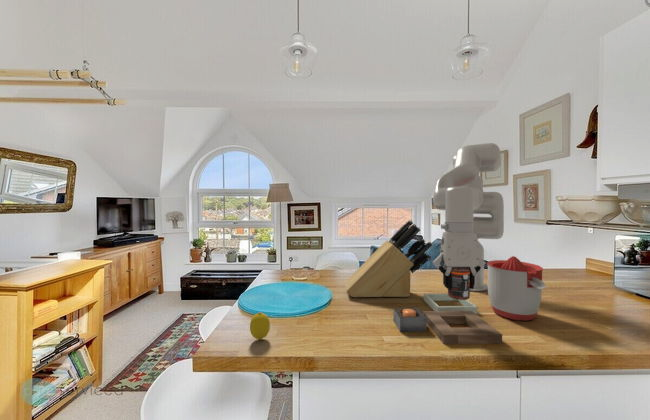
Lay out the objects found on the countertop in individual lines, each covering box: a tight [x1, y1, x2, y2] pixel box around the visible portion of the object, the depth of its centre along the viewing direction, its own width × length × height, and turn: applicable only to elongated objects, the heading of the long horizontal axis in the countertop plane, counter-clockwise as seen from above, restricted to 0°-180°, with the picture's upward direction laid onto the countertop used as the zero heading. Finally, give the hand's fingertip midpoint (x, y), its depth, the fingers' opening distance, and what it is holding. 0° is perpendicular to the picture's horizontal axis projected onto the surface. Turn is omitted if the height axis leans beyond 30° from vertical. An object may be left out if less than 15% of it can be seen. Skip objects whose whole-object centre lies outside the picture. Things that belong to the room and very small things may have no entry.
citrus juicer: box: [486, 255, 547, 321], centre depth 92 cm, size 16×17×20 cm
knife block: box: [344, 219, 433, 298], centre depth 115 cm, size 11×35×31 cm, turn 90°
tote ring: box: [423, 292, 478, 315], centre depth 100 cm, size 14×14×2 cm
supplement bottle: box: [447, 267, 471, 300], centre depth 82 cm, size 6×6×11 cm
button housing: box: [392, 307, 428, 333], centre depth 85 cm, size 8×8×4 cm
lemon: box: [249, 311, 271, 341], centre depth 78 cm, size 6×6×8 cm
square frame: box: [422, 310, 503, 345], centre depth 82 cm, size 16×16×2 cm
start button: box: [403, 309, 416, 317], centre depth 85 cm, size 4×4×4 cm
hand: (458, 287), depth 82 cm, fingers closed on supplement bottle, 6 cm apart
